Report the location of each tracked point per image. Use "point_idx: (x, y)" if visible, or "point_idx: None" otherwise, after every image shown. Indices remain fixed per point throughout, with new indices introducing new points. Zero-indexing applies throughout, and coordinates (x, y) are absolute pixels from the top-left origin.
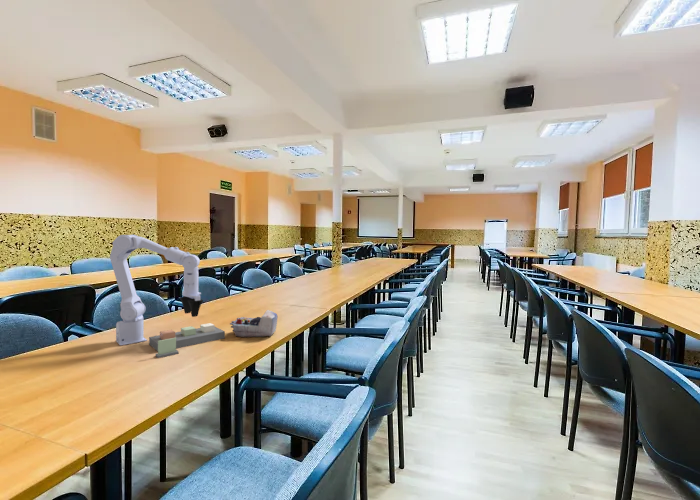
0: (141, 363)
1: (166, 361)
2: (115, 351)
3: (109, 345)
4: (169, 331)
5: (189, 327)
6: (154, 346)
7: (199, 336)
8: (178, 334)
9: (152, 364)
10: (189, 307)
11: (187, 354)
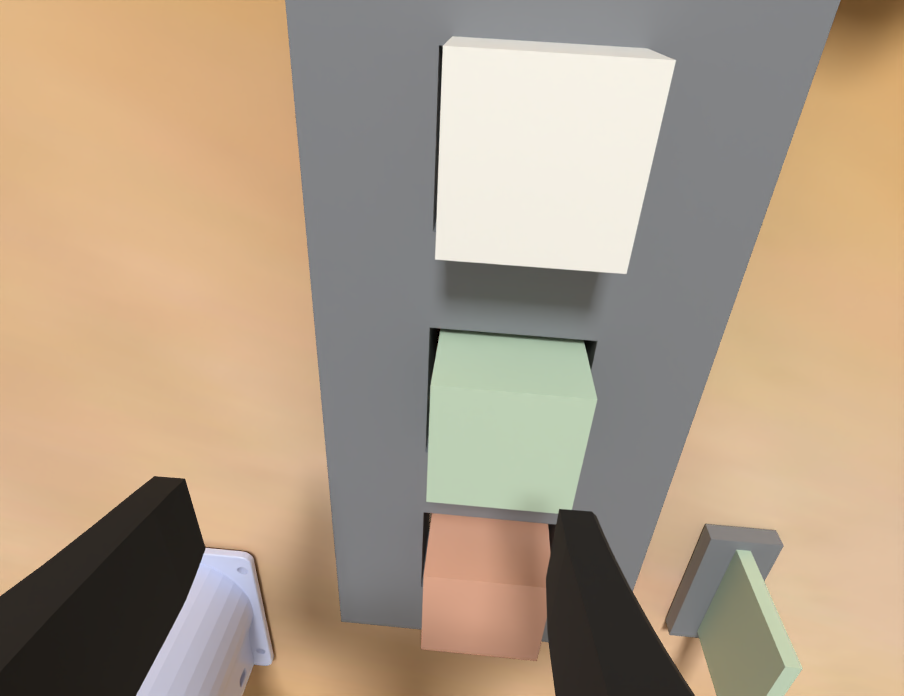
0: None
1: (842, 619)
2: (374, 689)
3: None
4: (482, 608)
5: (475, 429)
6: None
7: (714, 356)
8: None
9: (803, 668)
10: (106, 604)
11: (866, 500)
